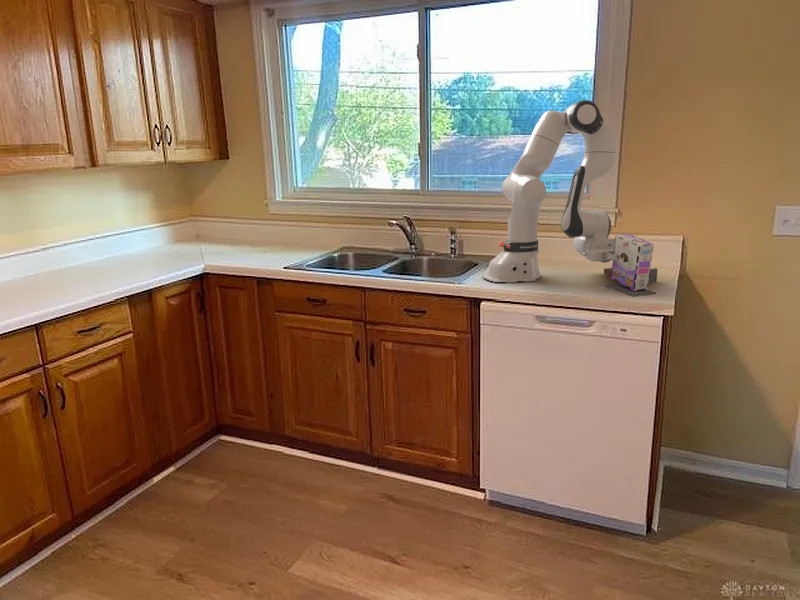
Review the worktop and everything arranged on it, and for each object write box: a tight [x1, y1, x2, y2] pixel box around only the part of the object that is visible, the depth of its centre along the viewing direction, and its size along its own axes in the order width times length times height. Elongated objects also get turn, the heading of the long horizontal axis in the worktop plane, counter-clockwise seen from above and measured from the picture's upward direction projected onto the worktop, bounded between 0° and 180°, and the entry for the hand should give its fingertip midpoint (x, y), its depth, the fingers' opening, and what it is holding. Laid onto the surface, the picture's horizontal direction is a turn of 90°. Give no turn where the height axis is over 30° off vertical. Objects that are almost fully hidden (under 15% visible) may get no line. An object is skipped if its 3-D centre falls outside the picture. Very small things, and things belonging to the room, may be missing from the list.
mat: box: [605, 282, 657, 297], centre depth 216 cm, size 9×16×1 cm, turn 16°
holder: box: [603, 267, 658, 284], centre depth 232 cm, size 10×18×5 cm, turn 16°
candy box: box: [610, 233, 655, 291], centre depth 214 cm, size 14×6×16 cm, turn 15°
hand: (626, 256), depth 216 cm, fingers closed on candy box, 6 cm apart
